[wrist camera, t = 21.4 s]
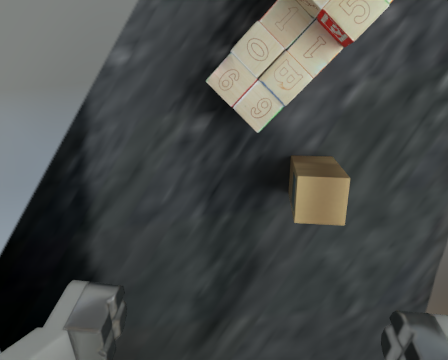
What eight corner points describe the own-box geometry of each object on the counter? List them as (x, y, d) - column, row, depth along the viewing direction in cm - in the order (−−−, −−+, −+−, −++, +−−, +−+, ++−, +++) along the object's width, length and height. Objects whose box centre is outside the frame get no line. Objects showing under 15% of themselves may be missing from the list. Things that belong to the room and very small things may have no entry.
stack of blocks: (260, 123, 36) (254, 140, 25) (219, 81, 36) (193, 79, 24) (430, -45, 30) (529, -128, 19) (383, -99, 30) (456, -219, 18)
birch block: (287, 191, 39) (293, 223, 30) (290, 153, 37) (296, 176, 29) (327, 192, 38) (345, 225, 30) (331, 155, 37) (351, 178, 28)
